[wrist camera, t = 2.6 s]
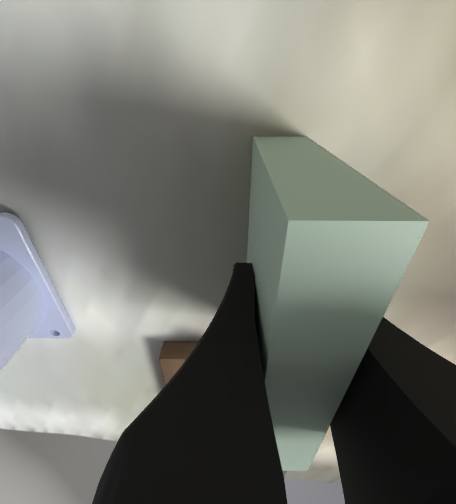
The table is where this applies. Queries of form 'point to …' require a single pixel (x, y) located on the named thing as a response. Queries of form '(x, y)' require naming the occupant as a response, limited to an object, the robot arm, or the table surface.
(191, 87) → the table surface
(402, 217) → the grey-green rectangular block
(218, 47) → the table surface
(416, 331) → the table surface
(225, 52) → the table surface
